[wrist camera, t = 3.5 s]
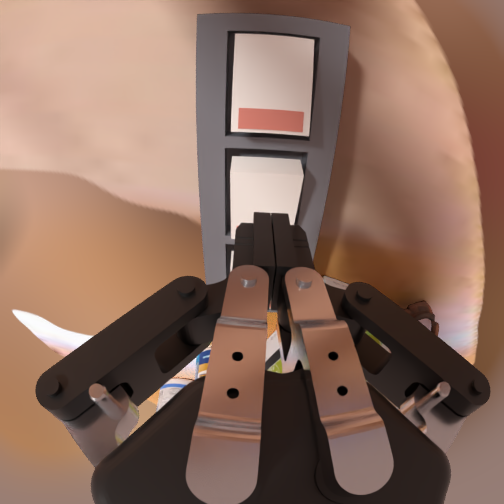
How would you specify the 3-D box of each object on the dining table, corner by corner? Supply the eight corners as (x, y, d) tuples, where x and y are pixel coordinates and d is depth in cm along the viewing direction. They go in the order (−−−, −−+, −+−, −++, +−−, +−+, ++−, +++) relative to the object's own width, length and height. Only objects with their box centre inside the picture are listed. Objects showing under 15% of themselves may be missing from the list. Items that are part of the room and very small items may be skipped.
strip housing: (208, 22, 15) (197, 14, 12) (331, 31, 15) (350, 26, 12) (213, 277, 31) (208, 309, 28) (295, 280, 31) (300, 312, 28)
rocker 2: (232, 156, 18) (230, 172, 16) (300, 159, 18) (304, 176, 17) (232, 221, 22) (231, 239, 21) (288, 223, 22) (290, 241, 21)
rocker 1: (236, 41, 14) (235, 33, 12) (308, 46, 14) (314, 39, 12) (232, 130, 16) (230, 131, 15) (303, 134, 17) (309, 136, 15)
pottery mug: (351, 326, 38) (379, 352, 30) (393, 275, 38) (428, 291, 29) (392, 362, 40) (419, 387, 32) (428, 318, 40) (459, 337, 32)
